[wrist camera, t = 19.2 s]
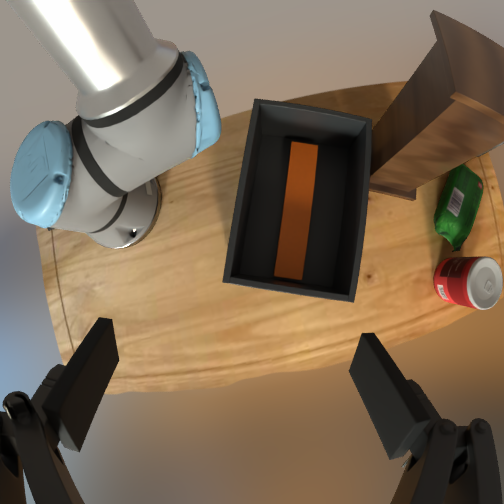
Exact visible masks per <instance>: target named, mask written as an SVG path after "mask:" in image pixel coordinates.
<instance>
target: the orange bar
mask: <svg viewBox="0 0 504 504" xmlns="http://www.w3.org/2000/svg"><path fill="white" fill-rule="evenodd" d="M317 152H318V145H312V144H306V143H299V142H292V143H291V149H290V158H289V166H288V174H287V182H286V189H285V197H284V205H283V212H282V220H281V227H280V234H279V241H278V248H277V255H276V262H275V269H274V276H276V277H283V278H290V279H297V280H302V277H303V270H304V263H305V256H306V249H307V242H308V234H309V226H310V218H311V210H312V201H313V192H314V183H315V173H316V163H317Z"/></svg>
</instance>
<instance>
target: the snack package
mask: <svg viewBox="0 0 504 504" xmlns="http://www.w3.org/2000/svg"><path fill="white" fill-rule="evenodd" d="M482 194H483V182H482V180H481V179H480V178H479V177H478V175H476V174H475V173H474V172H472V171H471V170H470V169H469V168H468V167H466V166H465V165H464V164H461V165H459V166H457V167H455V168H453V169H452V170H451V171H450V173H449V176H448V179H447V182H446V185H445V188H444V190H443V192H442V194H441V197H440V200H439V203H438V206H437V209H436V212H435V214H434V224H435V231H436V232H437V233H438V234H439V235H442V236H444V237H446V238H447V240H448V241H449V242H450V243H451V244H452V246H453V248H454V250H453V251H452V252H454V251H460V248H461V245H462V244H463V242H464V241H465V240H466V239H467V237H468V235H469V234H470V232H471V229H472V226H473V224H474V221H475V218H476V214H477V211H478V208H479V205H480V201H481V197H482Z"/></svg>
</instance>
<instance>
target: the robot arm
mask: <svg viewBox="0 0 504 504" xmlns="http://www.w3.org/2000/svg"><path fill="white" fill-rule="evenodd" d="M6 1H7V2H8V4H9V5H10V6H11V7H12V9H13V10H14V11H15V13H16V14H17V15H18V16H19V18H20V19H21V20H22V22H23V23H24V24H25V25H26V27H27V28H28V29H29V30H30V32H31V33H32V34H33V35H34V37H35V38H36V39H37V40H38V42H39V43H40V44H41V45H42V46H43V48H44V49H45V50H46V51H47V53H48V54H49V55H50V56H51V58H52V59H53V60H54V61H55V63H56V64H57V65H58V66H59V67H60V69H61V70H62V71H63V72H64V73H65V75H66V76H67V77H68V78H69V79H70V81H71V82H72V83H73V84H74V85H75V87H76V88H77V89H78V91H79V92H78V97H77V102H76V111H77V113H78V114H79V115H78V116H77V117H76V118H75V119H73V120H72V121H70V122H69V123H68V124H66V125H64V124H63V123H62V122H60V121H45V122H42V123H40V124H39V125H37V126H36V127H35V128H33V129H32V130H31V131H30V132H29V134H28V135H27V136H26V138H25V139H24V141H23V142H22V144H21V146H20V148H19V150H18V152H17V154H16V157H15V160H14V165H13V168H12V172H11V180H10V181H11V182H10V191H11V199H12V202H13V206H14V208H15V210H16V212H17V214H18V215H19V216H20V217H21V218H22V219H23V220H25V221H26V222H28V223H32V224H35V225H38V226H40V227H41V228H48V230H49V231H50V230H52V229H55V228H57V229H63V230H70V231H77V232H84V233H86V234H87V235H88V236H90V237H91V238H92V239H93V240H94V241H95V242H97V243H98V244H100V245H102V246H104V247H108V248H117V249H122V248H127V247H131V246H133V245H135V244H137V243H139V242H140V241H141V240H143V239H144V238H145V237H146V236H147V235H148V234H149V233H150V231H151V230H152V228H153V227H154V225H155V223H156V221H157V219H158V216H159V213H160V209H161V200H162V198H161V189H160V185H159V182H158V180H157V178H156V176H158V175H160V174H162V173H163V172H165V171H167V170H169V169H171V168H173V167H175V166H176V165H178V164H180V163H182V162H184V161H186V160H188V159H191V158H193V157H195V156H196V155H197V154H198V153H199V152H201V151H203V150H204V149H206V148H208V147H209V146H211V145H213V144H214V143H215V142H216V141H217V140H218V139H219V137H220V134H221V119H220V114H219V110H218V106H217V102H216V99H215V96H214V93H213V91H212V88H211V87H210V86H209V81H208V78H207V75H206V72H205V70H204V68H203V66H202V64H201V62H200V60H199V59H198V57H197V56H196V55H195V54H194V53H193V52H191V51H186V52H179V50H178V48H177V47H176V45H175V44H174V43H172V42H170V41H165V40H161V39H155V38H154V37H153V35H152V33H151V32H150V30H149V28H148V26H147V24H146V23H145V20H144V19H143V17H142V15H141V13H140V11H139V9H138V8H137V6H136V4H135V2H134V0H6ZM118 362H119V356H118V351H117V345H116V340H115V334H114V328H113V322H112V319H108V318H101V317H99V318H98V320H97V321H96V322H95V324H94V325H93V327H92V328H91V330H90V331H89V332H88V334H87V335H86V337H85V338H84V340H83V341H82V343H81V344H80V346H79V347H78V348H77V350H76V351H75V353H74V354H73V356H72V357H71V359H70V361H69V362H68V364H67V365H66V366H64V365H61V364H58V365H56V366H55V367H54V368H52V369H51V370H50V371H49V373H48V374H47V376H46V378H45V379H44V380H43V382H42V385H40V386H39V388H38V389H37V391H36V392H35V394H34V395H33V397H32V399H31V400H30V399H29V397H28V395H27V394H25V393H24V392H20V391H16V392H12V393H9V394H8V395H7V396H6V397H5V399H4V401H3V408H4V409H5V411H6V412H1V411H0V504H26V496H25V488H24V477H23V469H24V473H25V476H26V479H27V482H28V484H29V487H30V490H31V492H32V496H33V498H34V501H35V503H36V504H85V503H84V502H83V500H82V498H81V496H80V494H79V492H78V490H77V488H76V486H75V484H74V482H73V480H72V478H71V476H70V474H69V471H68V469H67V467H66V465H65V463H64V460H63V458H62V455H61V453H60V450H59V449H58V447H57V446H58V443H59V441H61V443H62V444H63V446H64V447H65V448H68V449H71V450H74V451H77V452H80V450H81V448H82V445H83V443H84V440H85V437H86V435H87V432H88V430H89V428H90V425H91V423H92V420H93V418H94V415H95V413H96V411H97V408H98V406H99V404H100V402H101V399H102V397H103V395H104V392H105V390H106V388H107V386H108V384H109V381H110V379H111V377H112V375H113V373H114V370H115V368H116V366H117V364H118ZM349 373H350V375H351V377H352V379H353V381H354V383H355V385H356V387H357V390H358V392H359V394H360V396H361V398H362V400H363V402H364V405H365V407H366V409H367V411H368V413H369V415H370V417H371V419H372V422H373V424H374V426H375V428H376V430H377V433H378V435H379V437H380V439H381V441H382V444H383V446H384V448H385V450H386V452H387V455H388V457H389V460H391V459H395V458H399V457H402V456H404V455H405V454H406V452H407V451H408V450H409V449H410V451H411V453H412V454H411V456H410V457H409V458H408V459H407V460H406V462H405V463H404V464H403V466H402V467H404V466H405V465H406V464H407V465H406V468H405V470H404V473H403V476H402V478H401V480H400V483H399V485H398V488H397V490H396V492H395V495H394V497H393V499H392V501H391V503H390V504H502V492H501V483H500V474H499V467H498V461H497V455H496V450H495V445H494V439H493V435H492V430H491V427H490V425H489V423H488V422H487V421H485V420H484V419H480V418H477V419H474V420H472V422H471V423H470V425H469V426H456V424H455V423H454V422H452V421H450V420H448V419H442V418H441V417H440V415H439V414H438V412H437V411H436V409H435V408H434V406H433V405H432V403H431V402H430V400H428V398H427V396H426V394H424V392H423V390H422V389H421V387H420V386H419V385H418V384H417V383H416V382H414V381H413V380H412V379H411V380H406V379H405V377H404V376H403V374H402V373H401V371H400V370H399V368H398V367H397V366H396V364H395V362H394V361H393V360H392V358H391V357H390V355H389V354H388V352H387V351H386V349H385V348H384V346H383V345H382V344H381V342H380V341H379V339H378V338H377V336H376V335H375V334H374V333H362V334H361V337H360V340H359V343H358V346H357V349H356V352H355V355H354V358H353V361H352V364H351V367H350V369H349Z"/></svg>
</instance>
